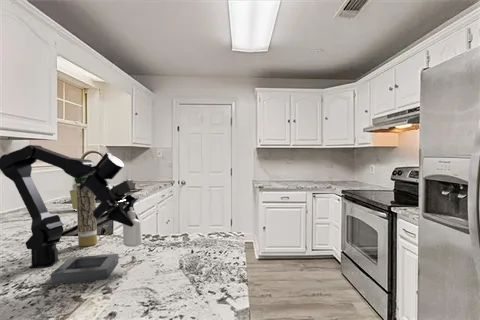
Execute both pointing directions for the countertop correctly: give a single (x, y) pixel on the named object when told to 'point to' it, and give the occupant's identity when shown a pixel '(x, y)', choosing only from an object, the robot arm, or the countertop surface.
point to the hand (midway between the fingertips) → (135, 224)
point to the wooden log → (86, 217)
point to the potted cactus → (75, 192)
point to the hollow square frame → (85, 269)
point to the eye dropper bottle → (132, 231)
